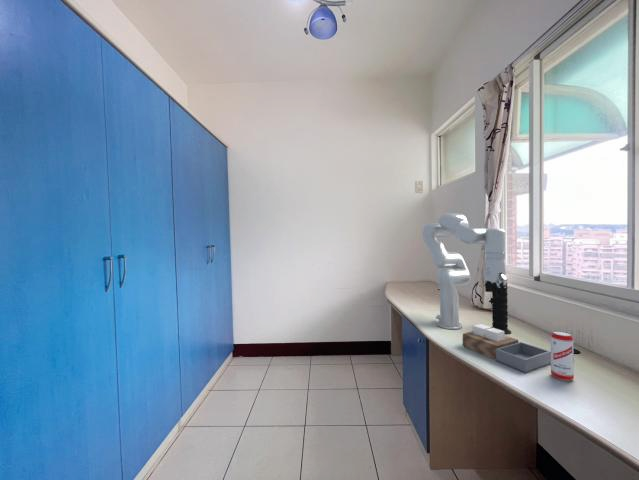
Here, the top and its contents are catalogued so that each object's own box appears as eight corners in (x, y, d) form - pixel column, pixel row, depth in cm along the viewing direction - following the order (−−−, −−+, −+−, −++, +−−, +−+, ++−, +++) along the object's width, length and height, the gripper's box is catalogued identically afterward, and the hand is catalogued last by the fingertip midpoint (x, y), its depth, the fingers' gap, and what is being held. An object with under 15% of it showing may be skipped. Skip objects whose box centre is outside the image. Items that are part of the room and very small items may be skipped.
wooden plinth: (462, 346, 131) (462, 333, 131) (483, 341, 137) (483, 328, 136) (497, 360, 116) (496, 345, 116) (518, 353, 122) (518, 339, 122)
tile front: (485, 337, 125) (485, 329, 125) (493, 335, 127) (493, 327, 127) (496, 341, 121) (496, 333, 121) (504, 339, 123) (504, 331, 123)
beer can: (575, 383, 98) (575, 337, 97) (552, 379, 101) (552, 334, 100) (571, 375, 103) (571, 331, 102) (549, 371, 106) (549, 329, 106)
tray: (496, 361, 116) (495, 349, 115) (520, 353, 122) (520, 341, 122) (525, 373, 105) (525, 360, 105) (550, 364, 112) (550, 351, 112)
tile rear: (473, 333, 131) (473, 325, 131) (480, 331, 133) (480, 324, 133) (483, 336, 126) (483, 328, 126) (491, 334, 128) (491, 327, 128)
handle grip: (493, 333, 146) (515, 334, 144) (492, 282, 145) (514, 282, 143) (486, 327, 155) (506, 328, 153) (485, 279, 155) (506, 279, 153)
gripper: (476, 254, 136) (476, 290, 137) (496, 258, 119) (496, 299, 120) (493, 254, 136) (493, 289, 137) (515, 258, 119) (515, 299, 119)
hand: (494, 294), depth 128 cm, fingers open, 9 cm apart
